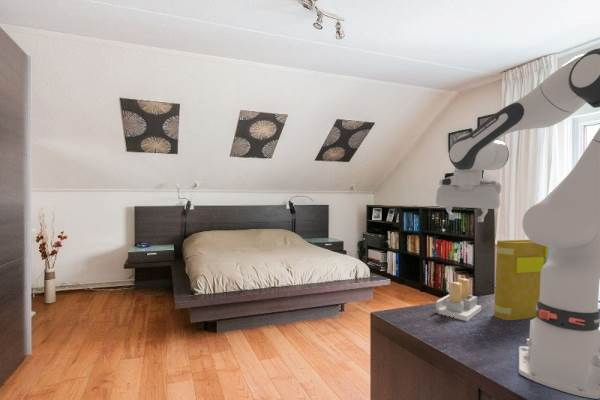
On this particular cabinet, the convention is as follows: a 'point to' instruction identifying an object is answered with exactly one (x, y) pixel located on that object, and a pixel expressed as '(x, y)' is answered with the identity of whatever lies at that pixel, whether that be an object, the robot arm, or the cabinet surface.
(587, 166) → the robot arm
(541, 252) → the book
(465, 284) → the tan wooden block
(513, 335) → the cabinet surface
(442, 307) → the housing
